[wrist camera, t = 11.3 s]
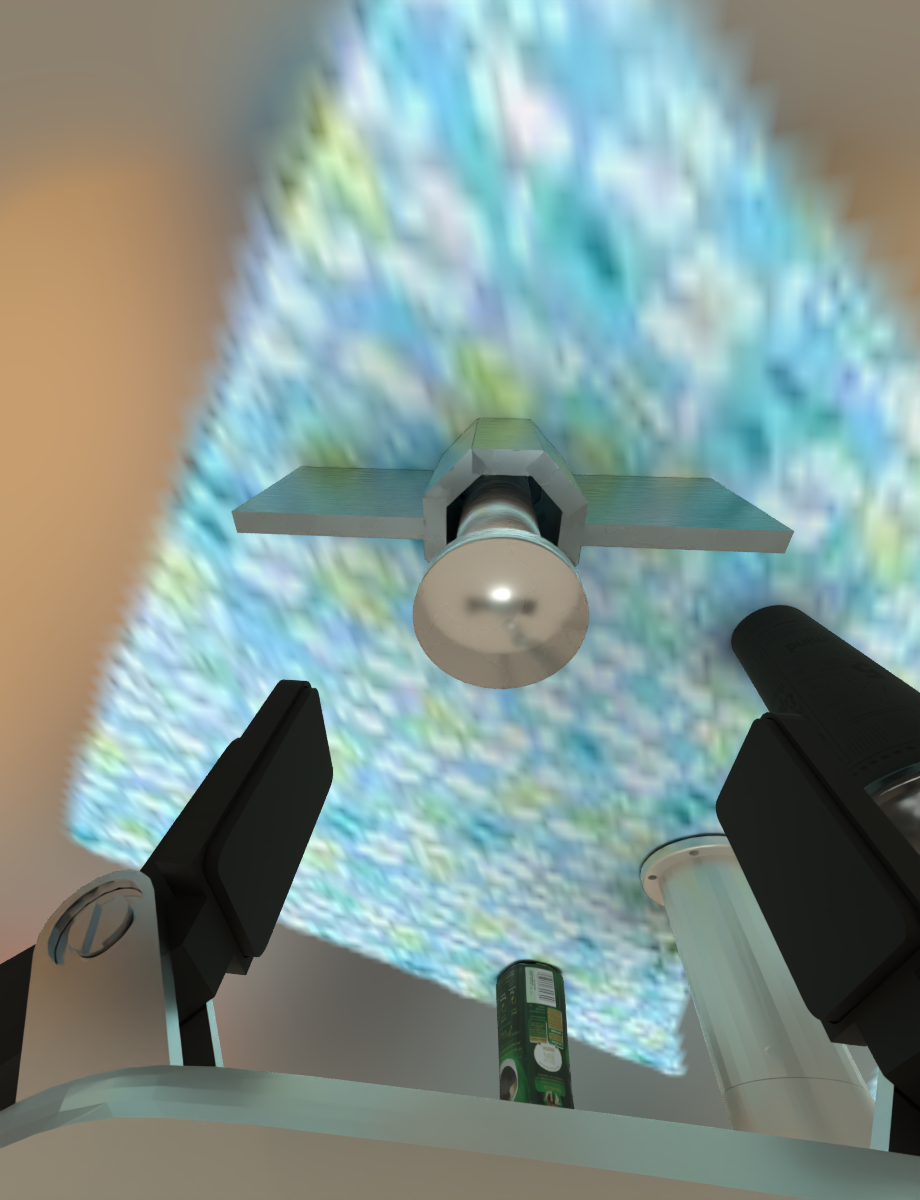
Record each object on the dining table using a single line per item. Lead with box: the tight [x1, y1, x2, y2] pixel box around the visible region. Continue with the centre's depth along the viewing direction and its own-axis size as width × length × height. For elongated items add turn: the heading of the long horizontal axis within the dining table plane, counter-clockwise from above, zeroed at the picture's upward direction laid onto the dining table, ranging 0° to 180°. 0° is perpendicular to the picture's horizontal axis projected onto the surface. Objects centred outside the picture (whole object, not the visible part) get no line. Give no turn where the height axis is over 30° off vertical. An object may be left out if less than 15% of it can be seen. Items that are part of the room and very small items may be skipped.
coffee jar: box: [496, 963, 574, 1109], centre depth 52 cm, size 10×8×19 cm
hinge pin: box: [413, 474, 589, 689], centre depth 19 cm, size 5×5×15 cm
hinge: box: [232, 418, 794, 567], centre depth 22 cm, size 24×7×8 cm, turn 89°
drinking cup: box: [732, 606, 920, 855], centre depth 21 cm, size 8×8×20 cm
